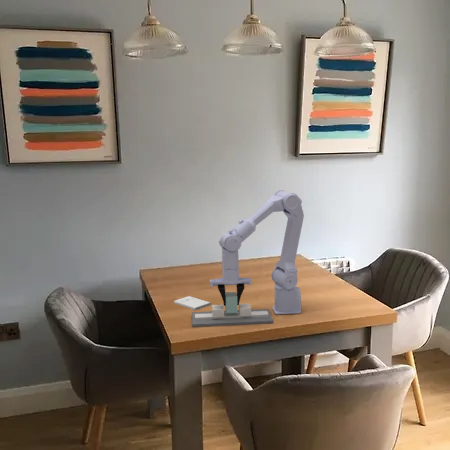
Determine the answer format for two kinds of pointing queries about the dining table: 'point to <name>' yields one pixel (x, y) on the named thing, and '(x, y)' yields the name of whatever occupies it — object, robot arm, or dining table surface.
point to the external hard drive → (192, 303)
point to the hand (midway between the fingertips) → (231, 304)
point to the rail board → (231, 317)
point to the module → (231, 302)
